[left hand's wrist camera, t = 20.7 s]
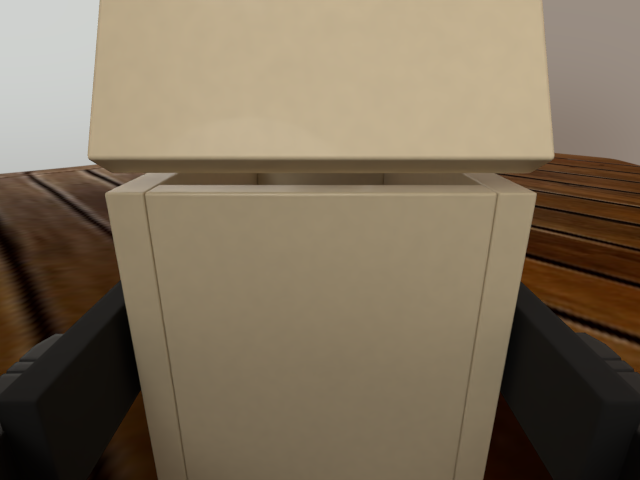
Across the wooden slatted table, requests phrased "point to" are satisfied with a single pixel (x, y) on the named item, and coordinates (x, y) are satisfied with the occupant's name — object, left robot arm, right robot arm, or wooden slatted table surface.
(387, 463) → the chest
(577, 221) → the wooden slatted table surface
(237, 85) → the lid
